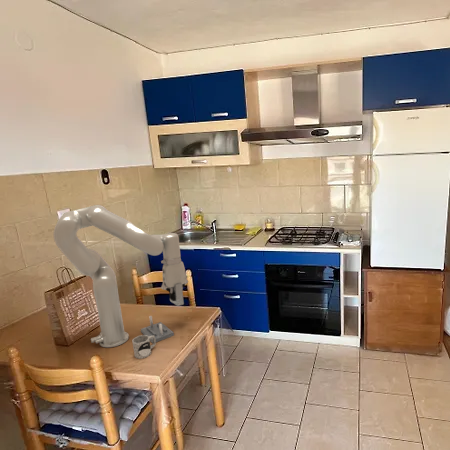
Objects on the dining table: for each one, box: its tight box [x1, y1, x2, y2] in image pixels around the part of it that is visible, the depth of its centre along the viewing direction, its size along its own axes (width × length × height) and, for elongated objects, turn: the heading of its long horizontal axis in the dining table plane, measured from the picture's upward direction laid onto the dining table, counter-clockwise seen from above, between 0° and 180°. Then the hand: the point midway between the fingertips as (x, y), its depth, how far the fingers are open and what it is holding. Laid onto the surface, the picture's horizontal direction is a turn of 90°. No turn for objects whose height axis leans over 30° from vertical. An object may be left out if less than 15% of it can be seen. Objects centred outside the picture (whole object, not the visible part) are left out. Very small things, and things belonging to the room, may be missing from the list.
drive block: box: [169, 283, 185, 307], centre depth 167 cm, size 8×3×10 cm, turn 34°
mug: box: [131, 334, 157, 359], centre depth 148 cm, size 10×7×7 cm, turn 137°
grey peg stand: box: [140, 315, 175, 344], centre depth 163 cm, size 14×10×6 cm
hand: (176, 298), depth 168 cm, fingers closed on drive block, 3 cm apart
